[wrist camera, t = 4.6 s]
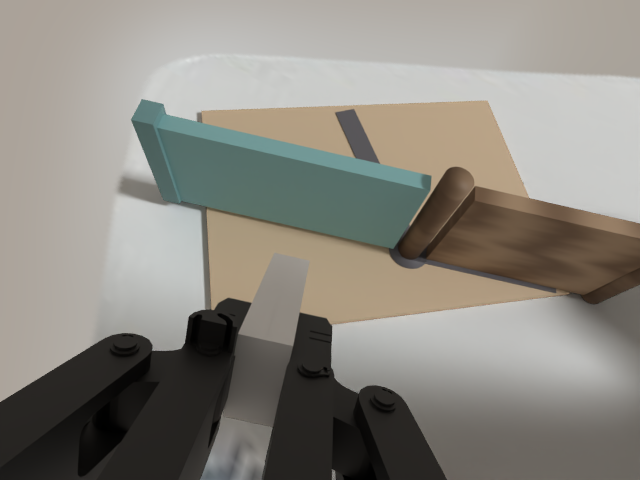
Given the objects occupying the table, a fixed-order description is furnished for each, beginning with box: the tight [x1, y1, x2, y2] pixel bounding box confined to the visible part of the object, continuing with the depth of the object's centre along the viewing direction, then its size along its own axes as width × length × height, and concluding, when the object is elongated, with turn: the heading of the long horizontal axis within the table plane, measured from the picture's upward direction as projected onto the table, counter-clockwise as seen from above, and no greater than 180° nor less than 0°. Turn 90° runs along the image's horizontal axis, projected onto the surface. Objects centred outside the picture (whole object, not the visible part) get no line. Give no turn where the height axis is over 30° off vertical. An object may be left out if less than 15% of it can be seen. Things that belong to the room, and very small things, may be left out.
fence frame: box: [398, 167, 640, 304], centre depth 32 cm, size 18×2×11 cm, turn 79°
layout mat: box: [202, 101, 570, 325], centre depth 39 cm, size 30×22×1 cm
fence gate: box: [131, 99, 432, 249], centre depth 32 cm, size 20×2×10 cm, turn 79°
